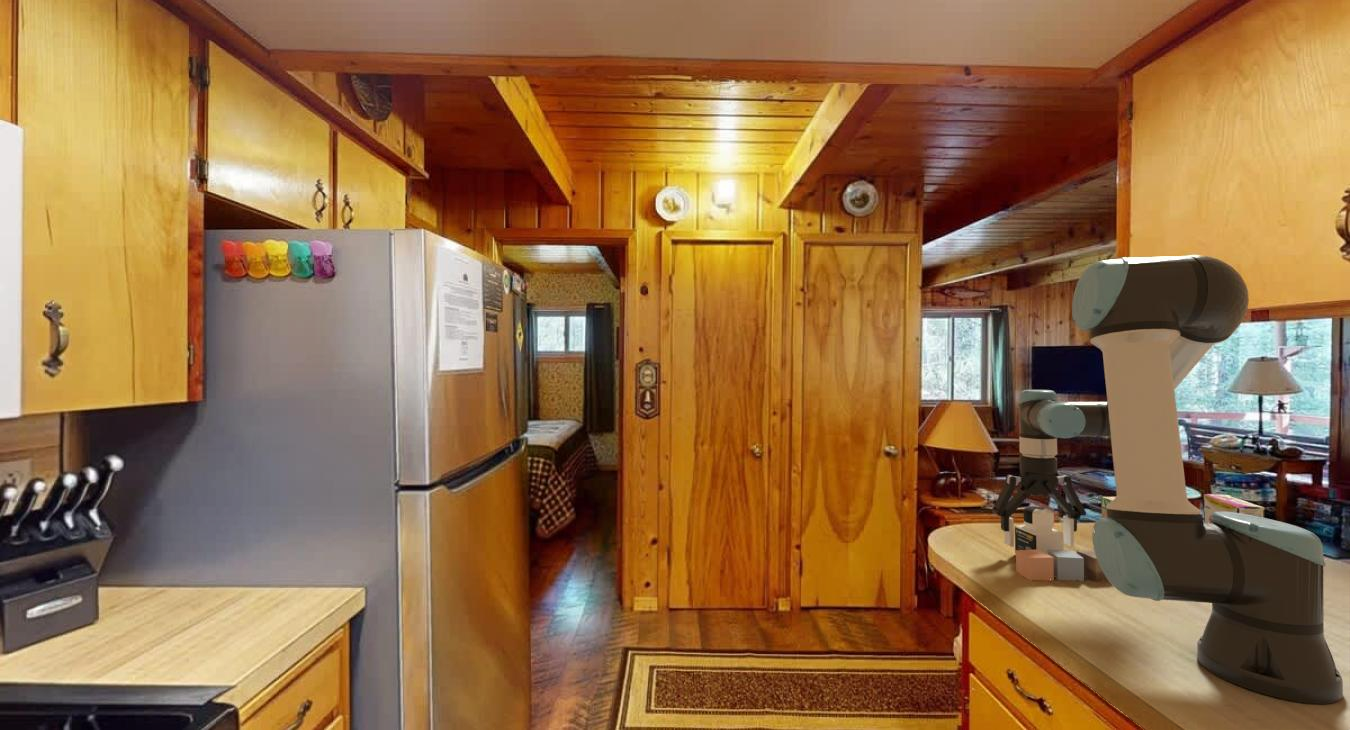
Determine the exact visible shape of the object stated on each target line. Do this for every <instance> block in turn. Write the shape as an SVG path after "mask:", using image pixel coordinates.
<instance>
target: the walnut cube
mask: <svg viewBox="0 0 1350 730" xmlns="http://www.w3.org/2000/svg"><path fill="white" fill-rule="evenodd" d="M1076 553H1077V554H1078V555H1080V556H1081V557H1083V558H1084V577H1085V576H1086V577H1085V578H1087V577H1088V578H1087V579H1089V578H1090V579H1089V580H1091V579H1092V580H1091V581H1093V580H1095V581H1094V582H1096V581H1098V582H1106V581H1105V580H1108V579H1107V578H1106V576H1105V574H1104V573H1103V571H1102V569H1101V567H1100V565H1099V563H1098V560H1097V557H1096V554H1095V550H1094V549H1083V550H1076ZM1103 580H1104V581H1103Z"/></svg>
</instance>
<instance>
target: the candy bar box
mask: <svg viewBox="0 0 1350 730" xmlns="http://www.w3.org/2000/svg"><path fill="white" fill-rule="evenodd" d="M1219 511H1225V512H1234V513H1241V514H1247V515H1252V516H1257V517H1262V518H1266V516H1265V514H1266V513H1265V512H1266V508H1265V507H1264V506H1261V505H1258V504H1255V503H1253V502H1249V501H1246V500H1243V499H1241V498H1238V497H1235V496H1232V495H1229V494H1217V493H1214V494H1212V493H1207V494H1206V493H1205V494H1203V523H1212V521H1211V520H1210V517H1211V516H1212V513H1214V512H1219Z"/></svg>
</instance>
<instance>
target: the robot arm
mask: <svg viewBox="0 0 1350 730" xmlns="http://www.w3.org/2000/svg"><path fill="white" fill-rule="evenodd" d="M1249 301H1250V298H1249V291H1248V287H1247V284H1246V282H1245V280H1244V279H1243V277H1242V276H1241V274H1240V273H1239V272H1238V271H1237V270H1236V269H1235V268H1234V266H1232V265H1230V264H1228V263H1227V262H1225V261H1224V260H1222V259H1218V258H1215V257H1211V256H1208V255H1201V254H1191V255H1190V254H1189V255H1181V256H1180V255H1179V256H1177V255H1176V256H1175V255H1174V256H1173V255H1172V256H1152V257H1149V256H1148V257H1146V256H1145V257H1119V258H1115V259H1105V260H1103V259H1102V260H1099V261H1095V262H1092V263H1091V264H1090V265H1089V266H1087V267H1086V268H1085V269H1084V271H1083V272H1082V274H1081V275H1080V277H1079V279H1078V281H1077V284H1076V286H1075V288H1074V293H1073V297H1072V303H1071V315H1072V320H1073V321H1074V326H1075V327H1077V328H1078V329H1080V330H1083V331H1084V332H1086V331H1089V340H1090V341H1089V342H1090V344H1092V345H1093V346H1095V347H1096V348H1098V349H1099V350H1100V351H1101V352H1102V358H1103V359H1102V360H1103V371H1104V379H1105V388H1106V389H1105V390H1106V392H1105V393H1106V399H1107V400H1106V401H1058V399H1057V393H1056V392H1055V390H1050V389H1023V390H1021V391H1020V392H1019V395H1018V397H1019V398H1018V404H1017V407H1018V420H1019V421H1018V423H1019V424H1018V426H1019V427H1018V428H1019V429H1018V431H1019V437H1018V438H1019V452H1020V455H1019V476H1016V475H1015V476H1014V475H1012V474H1007V475H1006V476H1005V482H1004V485H1003V487H1002V489H1001V490H1000V493H999V495H998V497H997V499H996V501H995V503H994V505H993V507H992V509H991V513H994V515H997V516H999V517H1000V529H1001V530H1002V531H1003V532H1004V544H1005V545H1007V546H1009V547H1010V548H1012V547H1014V548H1015V525H1014V518H1013V517H1012V515H1014V513H1015V512H1016V511H1017V509H1019V507H1020V506H1021V505H1022V504H1023V503H1024V501H1025V500H1026V499H1027V498H1030V497H1031V496H1032V495H1033V496H1048V495H1049V496H1050V497H1051V498H1052V499H1053V500H1054V502H1055V503H1056V504H1057V505H1058V506H1059V507H1060V508H1061V509H1062V510H1063V512H1065V514H1066V515H1063V516H1062V517H1063V519H1062V523H1063V524H1062V525H1063V526H1062V529H1063V531H1062V532H1063V534H1064V544H1065V545H1066V546H1069V547H1070V548H1071V547H1072V548H1074V547H1075V532H1077V531H1078V520H1080V519H1081V517H1082V516H1084V517H1085V516H1086V515H1087V511H1086V510H1085V507H1084V505H1083V503H1082V502H1081V499H1079V496H1078V494H1077V492H1076V490H1075V489H1074V487H1073V483H1072V477H1070V476H1068V475H1066V474H1060V475H1058V476H1057V473H1058V458H1057V457H1056V456H1057V455H1058V439H1059V438H1060V439H1071V438H1074V437H1108V438H1109V437H1110V441H1111V442H1110V443H1111V450H1112V451H1111V452H1112V462H1113V470H1114V471H1113V472H1114V482H1115V491H1116V496H1114V497H1115V499H1114V500H1113V501H1111V502H1110V503H1109V504H1108V505H1107V506H1106V510H1107V518H1102V517H1101V518H1099V519H1097V520H1096V521H1095V522H1094V524H1093V528H1092V529H1093V531H1092V537H1091V538H1092V545H1093V546H1092V547H1093V550H1095V554H1096V557H1097V560H1098V563H1099V565H1100V567H1101V569H1102V571H1103V573H1104V574H1105V576H1106V578H1107V579H1108V581H1107V582H1109V583H1110V584H1111V585H1112V586H1113V588H1115V590H1117V591H1119V592H1120V593H1122V594H1123V595H1126V596H1128V597H1133V598H1139V599H1140V598H1141V599H1149V600H1152V601H1155V602H1160V601H1162V600H1164V601H1174V602H1175V601H1176V602H1177V601H1178V602H1191V603H1192V602H1193V603H1206V604H1211V606H1212V607H1211V613H1210V616H1209V618H1208V621H1207V623H1206V625H1205V628H1204V631H1203V633H1202V636H1200V637H1199V639H1198V640H1197V644H1196V652H1197V655H1196V656H1197V660H1198V662H1199V663H1200V665H1202V666H1203V667H1204V668H1205V669H1207V670H1208V671H1209V672H1211V673H1212V674H1214V675H1215V676H1217V677H1219V678H1221V679H1224V680H1225V681H1227V682H1230V683H1232V684H1234V685H1237V686H1240V687H1242V688H1245V689H1247V690H1251V691H1253V692H1256V693H1259V694H1263V695H1265V696H1266V695H1267V696H1270V697H1273V698H1274V697H1275V698H1278V699H1282V700H1286V701H1292V702H1298V703H1299V702H1300V703H1305V704H1321V705H1322V704H1323V705H1325V704H1332V703H1333V704H1334V703H1336V702H1339V701H1341V700H1342V699H1343V697H1344V694H1343V693H1344V689H1343V687H1344V686H1343V685H1344V683H1343V677H1342V675H1341V673H1340V672H1339V670H1338V669H1337V666H1336V663H1335V660H1334V657H1333V654H1332V652H1331V650H1330V648H1329V645H1328V643H1327V640H1326V638H1325V635H1324V634H1325V633H1324V632H1325V631H1324V627H1325V625H1324V619H1325V618H1324V615H1325V614H1324V612H1325V611H1324V610H1325V609H1324V607H1325V605H1324V601H1325V600H1324V593H1325V592H1324V591H1325V590H1324V589H1325V588H1324V567H1326V562H1325V558H1324V551H1323V550H1324V549H1323V543H1322V541H1321V539H1320V537H1318V536H1317V535H1316V534H1315V533H1314V532H1312V531H1310V530H1308V529H1305V528H1303V527H1300V526H1298V525H1294V524H1290V523H1287V522H1283V521H1279V520H1274V519H1270V518H1267V517H1265V518H1262V517H1257V516H1252V515H1247V514H1241V513H1234V512H1225V511H1219V512H1214V513H1212V516H1211V517H1210V520H1211V521H1212V523H1204V516H1203V512H1202V510H1201V509H1199V508H1198V507H1197V506H1195V505H1194V504H1193V503H1191V502H1190V501H1189V499H1188V495H1187V487H1186V480H1185V479H1186V477H1185V471H1184V470H1185V469H1184V462H1183V453H1182V446H1181V445H1182V444H1181V437H1180V436H1181V435H1180V428H1179V427H1180V426H1179V419H1178V418H1179V417H1178V410H1177V409H1178V408H1177V401H1176V394H1175V393H1176V391H1175V390H1176V389H1177V387H1178V386H1179V385H1180V384H1181V383H1182V381H1183V380H1185V378H1186V377H1187V376H1188V374H1189V373H1190V372H1191V371H1192V370H1193V369H1194V368H1195V366H1197V364H1198V363H1199V362H1200V360H1202V358H1203V357H1204V356H1205V355H1206V354H1207V353H1208V351H1210V349H1211V348H1212V347H1213V346H1214V345H1215V344H1220V343H1222V342H1223V343H1224V341H1226V340H1229V338H1230V337H1231V336H1232V335H1233V334H1234V332H1235V331H1236V330H1237V329H1238V328H1239V327H1240V325H1241V324H1242V322H1243V320H1244V319H1245V317H1246V314H1247V312H1248V307H1249ZM1019 483H1020V486H1019V488H1018V489H1017V490H1016V492H1015V494H1014V491H1015V489H1016V486H1018V485H1019ZM1058 484H1059V485H1060V486H1061V488H1062V490H1063V492H1064V494H1065V496H1066V497H1067V500H1068V501H1069V503H1070V504H1069V503H1068V501H1067V500H1066V499H1065V498H1064V497H1063V496H1062V495H1061V493H1060V492H1059V490H1058V488H1056V486H1057V485H1058ZM1012 495H1013V496H1012Z"/></svg>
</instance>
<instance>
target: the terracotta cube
mask: <svg viewBox="0 0 1350 730" xmlns="http://www.w3.org/2000/svg"><path fill="white" fill-rule="evenodd" d="M1015 560H1016V561H1015V566H1016V567H1015V570H1016V571H1015V572H1016V574H1018V573H1019V574H1018V575H1020V574H1021V575H1020V576H1021V577H1023V576H1024V578H1025V577H1026V578H1025V579H1028V581H1030V580H1045V581H1055V579H1054V578H1055V577H1054V557H1052V556H1050V555H1048V554H1046V553H1044V552H1042V551H1040V550H1016V554H1015ZM1050 579H1051V580H1050Z"/></svg>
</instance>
